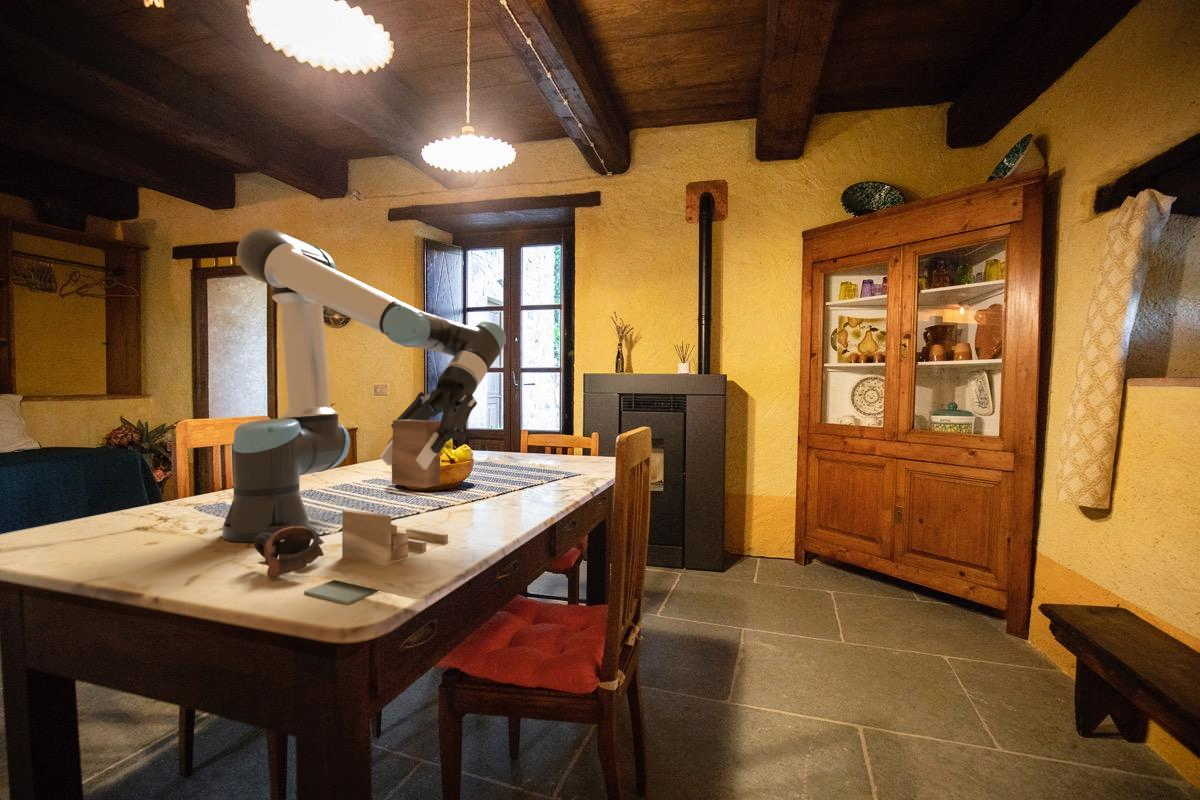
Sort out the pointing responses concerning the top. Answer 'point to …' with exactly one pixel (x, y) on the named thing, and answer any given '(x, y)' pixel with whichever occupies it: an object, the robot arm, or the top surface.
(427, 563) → the top surface
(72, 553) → the top surface
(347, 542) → the rack
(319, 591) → the felt mat
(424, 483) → the brown rectangular block
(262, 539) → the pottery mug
